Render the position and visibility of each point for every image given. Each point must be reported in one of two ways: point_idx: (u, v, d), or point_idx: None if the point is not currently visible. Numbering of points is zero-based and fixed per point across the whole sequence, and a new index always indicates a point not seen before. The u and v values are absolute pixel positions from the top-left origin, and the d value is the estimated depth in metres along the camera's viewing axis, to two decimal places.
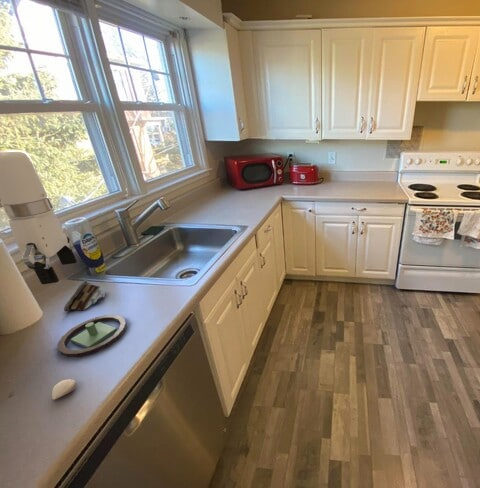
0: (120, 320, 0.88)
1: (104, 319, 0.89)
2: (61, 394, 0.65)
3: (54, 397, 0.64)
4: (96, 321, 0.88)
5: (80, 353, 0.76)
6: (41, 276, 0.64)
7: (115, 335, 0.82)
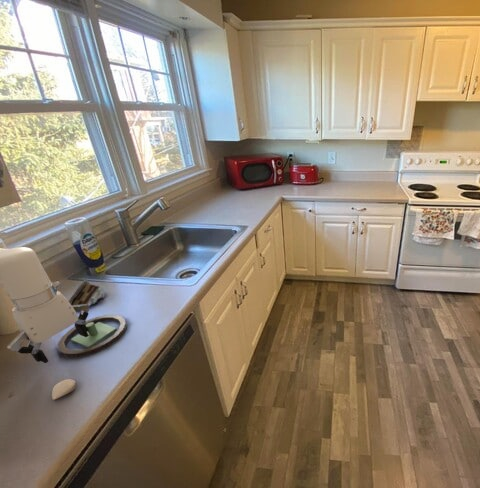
0: (120, 320, 0.88)
1: (104, 319, 0.89)
2: (61, 394, 0.65)
3: (54, 397, 0.64)
4: (96, 321, 0.88)
5: (80, 353, 0.76)
6: (33, 356, 0.70)
7: (115, 335, 0.82)
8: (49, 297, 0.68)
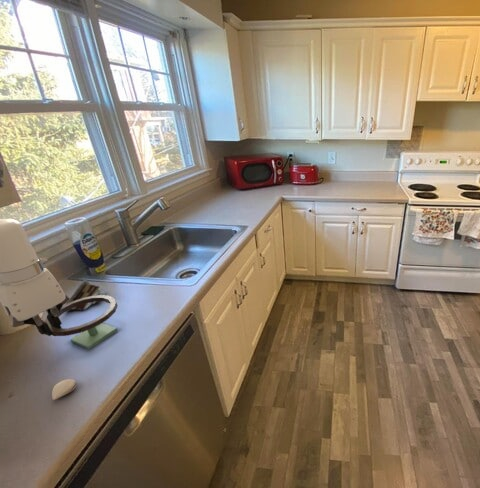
0: (110, 300, 0.84)
1: (94, 299, 0.86)
2: (61, 394, 0.65)
3: (54, 397, 0.64)
4: (85, 301, 0.85)
5: (67, 331, 0.73)
6: (37, 328, 0.71)
7: (104, 315, 0.78)
8: (35, 273, 0.66)
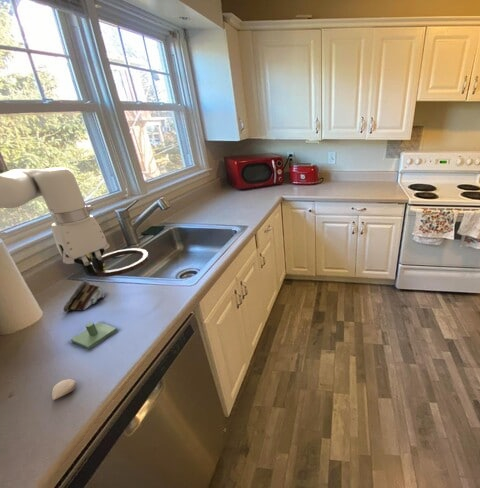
0: (143, 251, 0.94)
1: (128, 251, 0.95)
2: (61, 394, 0.65)
3: (54, 397, 0.64)
4: (120, 253, 0.95)
5: (109, 272, 0.82)
6: (84, 269, 0.81)
7: (140, 261, 0.88)
8: (84, 216, 0.75)
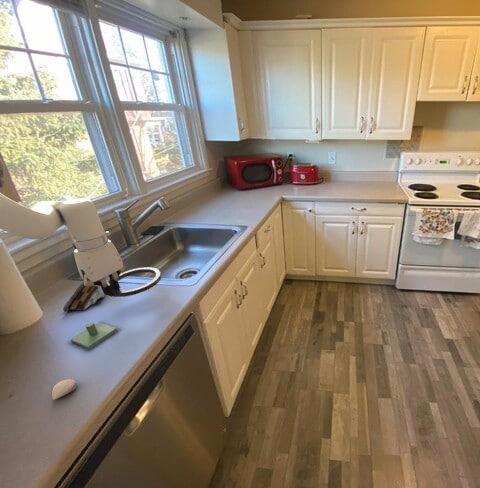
0: (155, 271, 1.00)
1: (141, 270, 1.01)
2: (61, 394, 0.65)
3: (54, 397, 0.64)
4: (134, 272, 1.01)
5: (125, 293, 0.88)
6: (102, 290, 0.87)
7: (153, 281, 0.94)
8: (103, 242, 0.81)
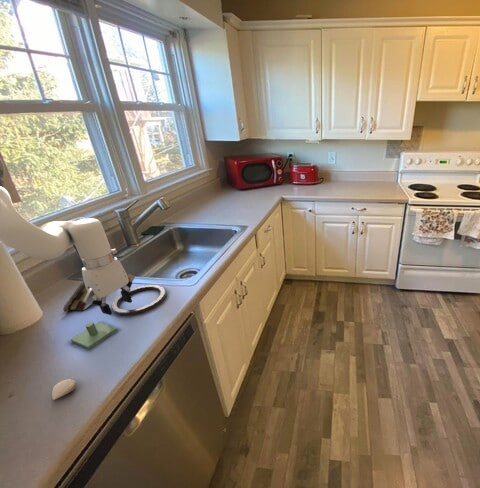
0: (160, 288, 1.03)
1: (146, 288, 1.04)
2: (61, 394, 0.65)
3: (54, 397, 0.64)
4: (139, 290, 1.04)
5: (132, 312, 0.91)
6: (101, 309, 0.87)
7: (158, 299, 0.97)
8: (110, 260, 0.84)
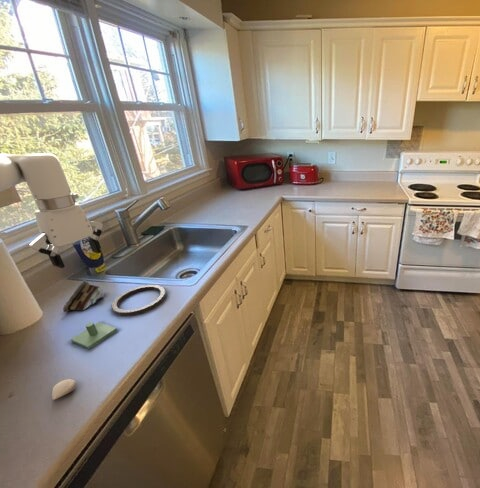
0: (160, 288, 1.03)
1: (146, 288, 1.04)
2: (61, 394, 0.65)
3: (54, 397, 0.64)
4: (139, 290, 1.04)
5: (132, 312, 0.91)
6: (51, 260, 0.76)
7: (158, 299, 0.97)
8: (69, 203, 0.74)
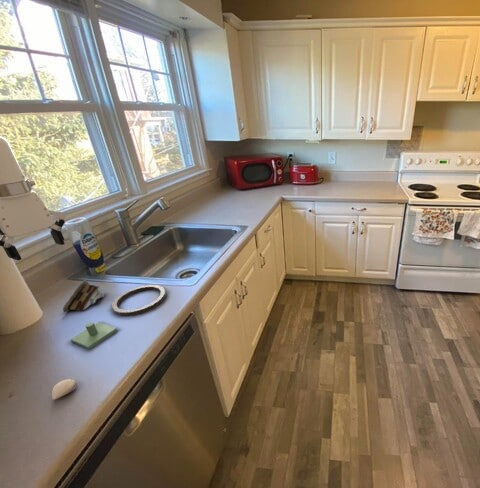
0: (160, 288, 1.03)
1: (146, 288, 1.04)
2: (61, 394, 0.65)
3: (54, 397, 0.64)
4: (139, 290, 1.04)
5: (132, 312, 0.91)
6: (6, 252, 0.70)
7: (158, 299, 0.97)
8: (22, 190, 0.69)
